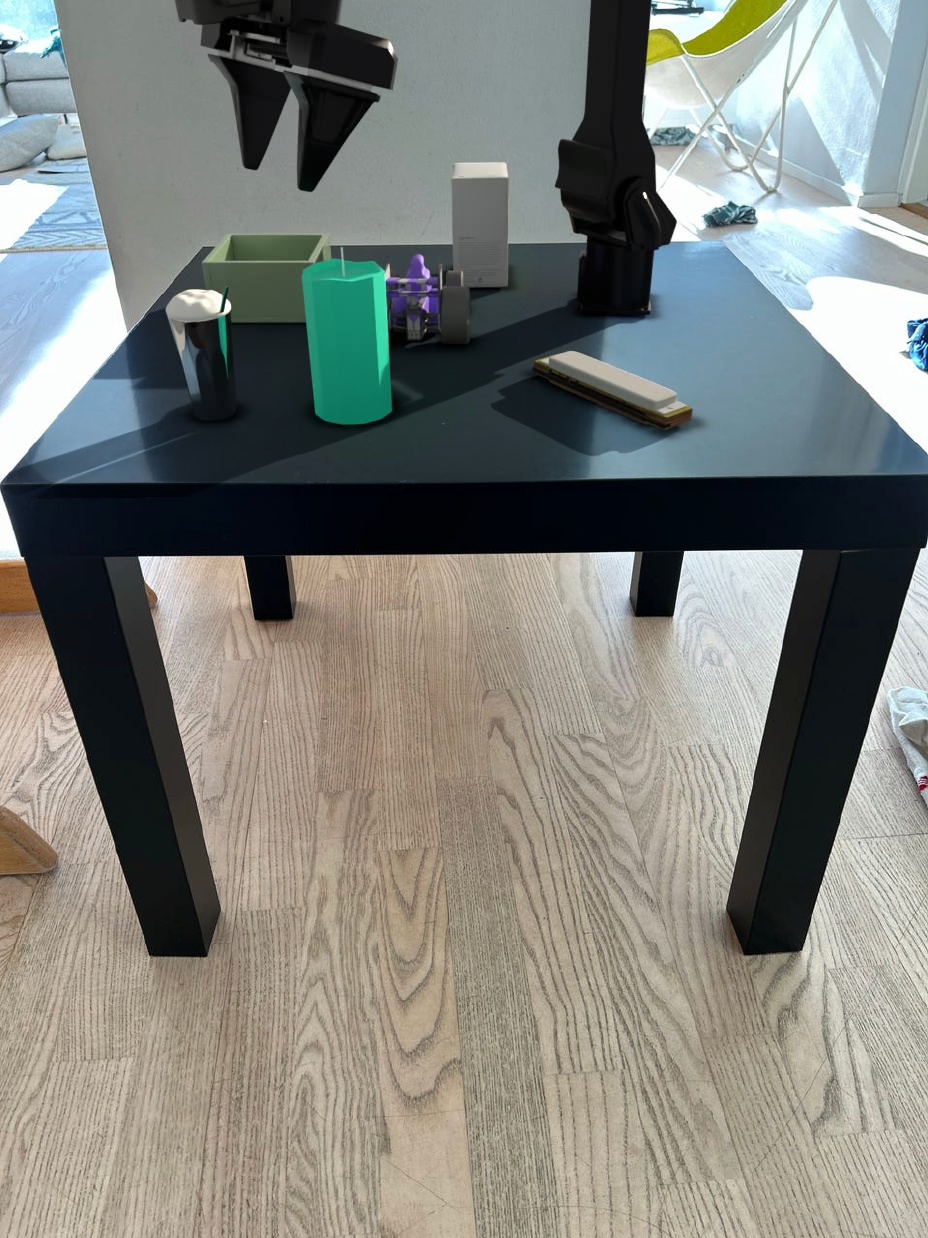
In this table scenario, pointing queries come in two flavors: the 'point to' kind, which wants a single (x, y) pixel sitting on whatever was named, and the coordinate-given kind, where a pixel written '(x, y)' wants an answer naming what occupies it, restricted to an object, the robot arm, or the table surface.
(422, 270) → the toy race car
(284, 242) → the open green box
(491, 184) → the small box
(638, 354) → the table surface
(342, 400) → the candle
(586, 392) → the harmonica
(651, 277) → the robot arm
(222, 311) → the milkshake
